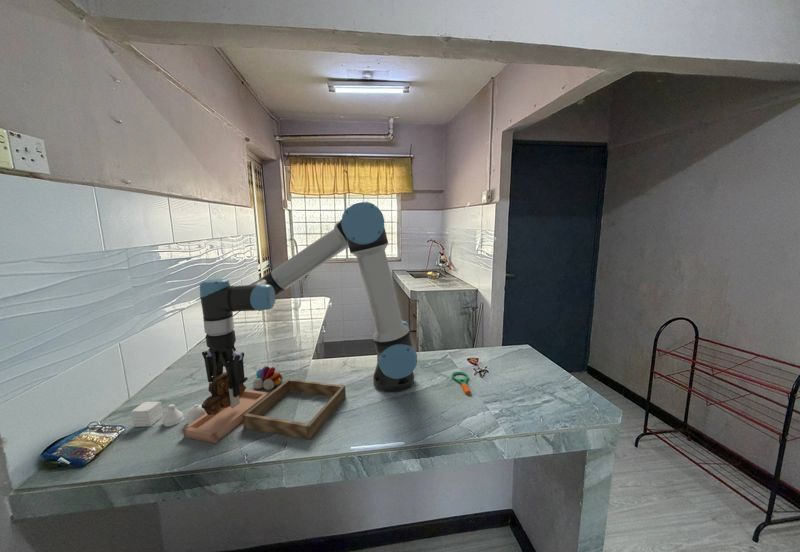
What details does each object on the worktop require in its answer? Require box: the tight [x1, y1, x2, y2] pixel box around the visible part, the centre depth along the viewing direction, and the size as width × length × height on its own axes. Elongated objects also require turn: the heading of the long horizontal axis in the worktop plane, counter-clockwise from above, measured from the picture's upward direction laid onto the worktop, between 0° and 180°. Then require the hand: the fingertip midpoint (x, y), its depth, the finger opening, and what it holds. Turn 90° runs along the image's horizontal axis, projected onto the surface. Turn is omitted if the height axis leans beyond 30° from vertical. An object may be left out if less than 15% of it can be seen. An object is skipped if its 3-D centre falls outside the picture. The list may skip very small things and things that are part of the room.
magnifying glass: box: [451, 371, 471, 396], centre depth 112 cm, size 15×6×2 cm, turn 2°
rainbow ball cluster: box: [252, 365, 284, 391], centre depth 114 cm, size 8×10×7 cm
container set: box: [130, 401, 206, 428], centre depth 94 cm, size 20×5×6 cm, turn 91°
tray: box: [182, 388, 270, 444], centre depth 96 cm, size 11×22×2 cm, turn 164°
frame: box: [242, 378, 347, 441], centre depth 98 cm, size 22×22×4 cm
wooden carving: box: [201, 371, 248, 415], centre depth 95 cm, size 16×5×10 cm, turn 172°
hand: (229, 404), depth 95 cm, fingers closed on wooden carving, 4 cm apart
